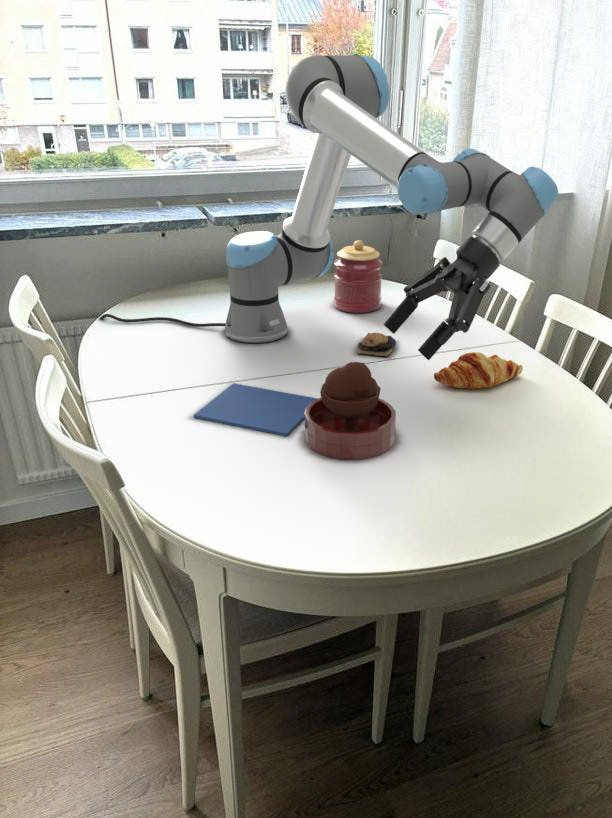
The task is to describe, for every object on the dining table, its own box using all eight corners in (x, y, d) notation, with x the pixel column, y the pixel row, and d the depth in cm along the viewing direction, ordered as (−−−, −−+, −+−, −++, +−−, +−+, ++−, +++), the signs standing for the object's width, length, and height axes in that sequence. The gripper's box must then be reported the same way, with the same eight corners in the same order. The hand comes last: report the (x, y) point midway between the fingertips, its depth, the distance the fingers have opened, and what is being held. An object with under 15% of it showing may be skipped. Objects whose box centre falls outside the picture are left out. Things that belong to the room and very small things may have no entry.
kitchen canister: (339, 296, 206) (339, 232, 197) (384, 300, 204) (387, 236, 195) (328, 311, 195) (328, 244, 186) (376, 315, 193) (378, 248, 184)
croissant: (511, 384, 165) (508, 349, 165) (536, 381, 156) (532, 343, 155) (427, 395, 159) (423, 358, 158) (447, 392, 149) (443, 353, 148)
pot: (290, 449, 132) (289, 424, 129) (326, 411, 145) (325, 387, 142) (377, 467, 127) (378, 441, 124) (405, 426, 140) (407, 401, 137)
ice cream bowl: (380, 424, 140) (383, 350, 132) (375, 452, 131) (378, 375, 123) (325, 420, 141) (325, 347, 133) (317, 448, 131) (316, 371, 123)
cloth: (193, 417, 141) (193, 414, 141) (233, 385, 154) (233, 383, 154) (287, 436, 136) (287, 433, 135) (320, 401, 149) (320, 399, 148)
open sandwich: (389, 358, 169) (390, 343, 167) (354, 354, 170) (354, 339, 168) (398, 342, 178) (399, 327, 176) (364, 338, 179) (365, 324, 177)
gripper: (538, 282, 120) (451, 379, 123) (460, 246, 140) (387, 331, 142) (515, 252, 116) (426, 354, 118) (438, 219, 135) (363, 307, 138)
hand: (405, 342), depth 130 cm, fingers open, 13 cm apart
